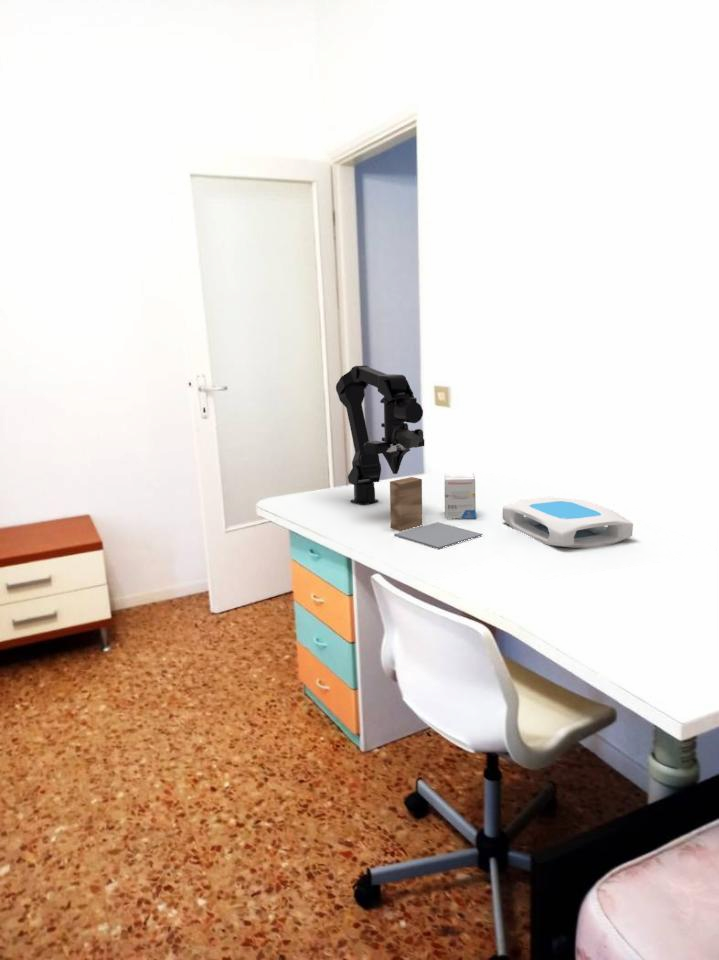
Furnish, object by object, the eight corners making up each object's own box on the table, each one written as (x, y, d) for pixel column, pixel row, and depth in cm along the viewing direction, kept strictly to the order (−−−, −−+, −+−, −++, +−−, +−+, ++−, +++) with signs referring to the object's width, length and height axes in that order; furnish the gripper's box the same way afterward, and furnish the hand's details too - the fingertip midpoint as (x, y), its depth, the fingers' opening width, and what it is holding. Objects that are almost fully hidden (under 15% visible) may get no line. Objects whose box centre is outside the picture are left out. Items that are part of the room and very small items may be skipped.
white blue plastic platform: (566, 515, 196) (567, 493, 195) (634, 542, 170) (635, 517, 169) (500, 523, 190) (501, 501, 189) (560, 552, 164) (561, 527, 163)
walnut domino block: (390, 528, 188) (389, 481, 185) (412, 522, 192) (411, 477, 190) (400, 531, 184) (400, 483, 182) (422, 525, 189) (421, 479, 187)
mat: (394, 535, 180) (394, 533, 180) (437, 523, 190) (437, 522, 190) (438, 549, 168) (438, 547, 168) (482, 535, 178) (482, 533, 178)
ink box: (474, 511, 202) (474, 472, 200) (475, 519, 194) (476, 478, 192) (444, 511, 203) (444, 472, 201) (444, 519, 195) (444, 478, 193)
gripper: (388, 425, 184) (389, 483, 188) (437, 418, 196) (438, 472, 199) (361, 422, 193) (363, 477, 196) (410, 415, 204) (411, 467, 207)
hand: (395, 473), depth 199 cm, fingers closed
